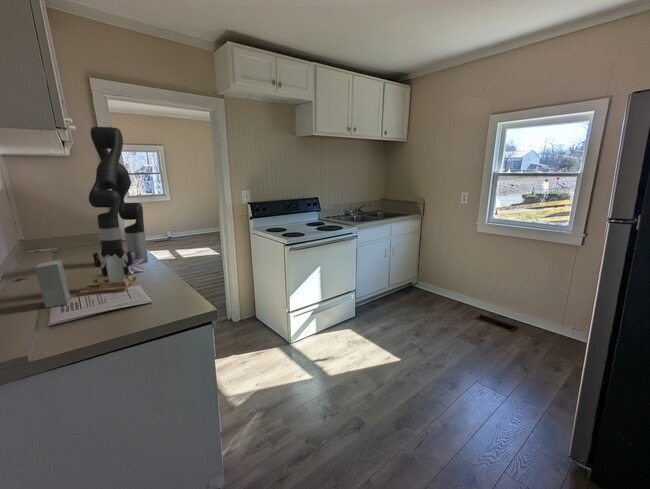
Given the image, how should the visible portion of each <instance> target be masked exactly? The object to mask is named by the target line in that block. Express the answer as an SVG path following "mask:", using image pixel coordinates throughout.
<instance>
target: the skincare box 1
mask: <svg viewBox="0 0 650 489" xmlns="http://www.w3.org/2000/svg"><path fill="white" fill-rule="evenodd" d="M63 264H64V263H63V260H62V259H60V260H59V259H58V260H53V261H43V262H40V263H39V264H37V265H36V266H35V267H34V270H35V272H36V277H37V280H38V285H39V288H40V292H41V295H42V299H43V303H44V307H45V308H53V307H58V306H59V307H60V306H66V305H68V303H69V301H70V300H71V294H70V290H69V286H68V282H67V277H66V272H65V269H64V265H63ZM65 304H66V305H65Z"/></svg>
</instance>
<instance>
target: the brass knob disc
mask: <svg viewBox="0 0 650 489" xmlns="http://www.w3.org/2000/svg"><path fill="white" fill-rule="evenodd" d="M101 282H102V280H101V279H98V278H95V279H94V278H93V279H92V280H91V281H89V282H87V284H88V285H87V286H89V287H98V286H100V285H99V284H100V283H101Z"/></svg>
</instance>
